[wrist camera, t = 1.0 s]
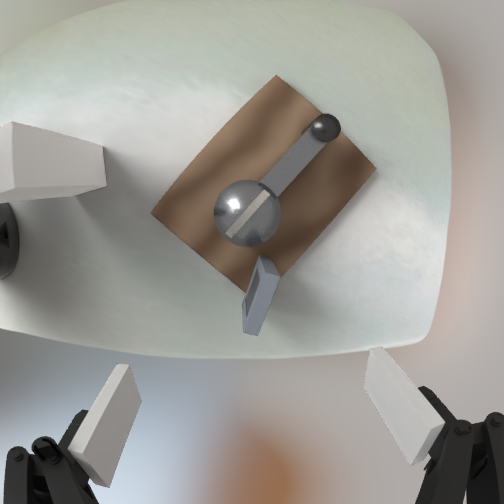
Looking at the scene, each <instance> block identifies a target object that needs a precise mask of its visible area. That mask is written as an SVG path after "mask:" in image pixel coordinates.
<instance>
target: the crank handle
mask: <svg viewBox="0 0 504 504" xmlns="http://www.w3.org/2000/svg"><path fill="white" fill-rule="evenodd" d="M340 132H341V126H340V123H339V121H338V120H337V119H336V118H335V117H334V116H333V115H330V114H321V115H319V116H318V117H317V118H315V119H314V120H313V121H312V122H311V123H310V124H309V125H308V126H307V127H305V128H304V129H303V131H302V133H301V136H300V137H299V138H298V139H297V140H296V141H295V142H294V143H293V145H292V146H291V147H290V148H289V149H288V150H287V151H286V152H285V153H284V154H283V155H282V156H281V157H280V159H279V160H278V161H277V162H276V163H275V164H274V165H273V166H272V167H271V168H270V169H269V171H268V172H267V173H266V174H265V175H264V176H263V177H262V178H261V179H260V180H259V182H258V181H255V180H240V181H237V182H234V183H232V184H230V185H229V186H227V187H226V188H225V189H224V190H223V191H222V192H221V193H220V194H219V196H218V198H217V200H216V202H215V206H214V221H215V225H216V227H217V229H218V231H219V233H220V234H221V235H222V236H223V237H224V238H225V239H226V240H227V241H229V242H231V243H232V244H235V245H237V246H242V247H253V246H257V245H260V244H262V243H264V242H266V241H267V240H268V239H270V238H271V237H272V236H273V235H274V233H275V232H276V230H277V229H278V226H279V224H280V220H281V206H280V203H279V200H278V198H277V197H278V196H279V195H280V194H281V193H282V192H283V191H284V190H285V188H286V187H287V186H288V185H289V184H290V183H291V182H292V181H293V180H294V178H295V177H296V176H297V175H298V174H299V173H300V172H301V171H302V170H303V168H304V167H305V166H306V165H307V164H308V163H309V162H310V161H311V160H312V159H313V157H314V156H315V155H316V154H317V153H318V152H319V151H320V150H321V149H322V148H323V147H324V145H325V144H326V143H328V142H330V141H332V140H334V139H336V138H337V137H338V136H339V134H340Z"/></svg>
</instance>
